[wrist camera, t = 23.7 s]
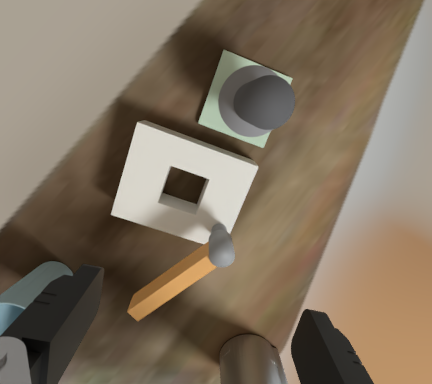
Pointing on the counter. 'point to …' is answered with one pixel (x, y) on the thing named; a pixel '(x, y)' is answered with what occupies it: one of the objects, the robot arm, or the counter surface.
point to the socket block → (188, 161)
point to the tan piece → (183, 274)
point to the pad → (211, 108)
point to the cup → (28, 291)
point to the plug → (255, 101)
